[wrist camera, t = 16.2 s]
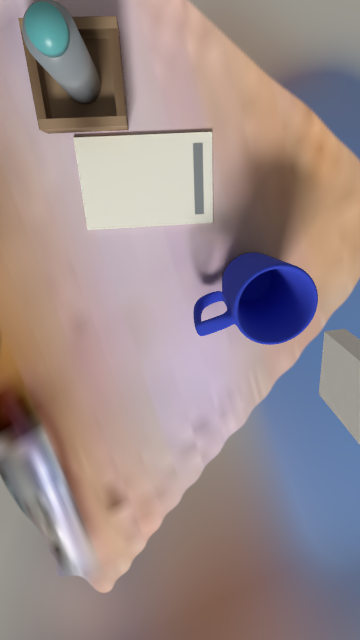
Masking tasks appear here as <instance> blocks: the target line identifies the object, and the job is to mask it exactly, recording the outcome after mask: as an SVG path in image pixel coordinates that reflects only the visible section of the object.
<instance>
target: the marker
mask: <svg viewBox="0 0 360 640" xmlns="http://www.w3.org/2000/svg"><path fill="white" fill-rule="evenodd" d="M22 33H23V38H24V41H25V44H26V46H27V48H28V50H29V52H30V53H31V54H32V56H33V57H34V58H35V59H36V60H37V61H38V62H39V63H40V64H41V65H42V66H43V68H44V69H45V70H46V71H47V72H48V73H49V74H50V75H51V76H52V77H53V78H54V79H55V81H56V82H57V83H58V84H59V85H60V86H61V87H62V88H63V89H64V90H65V91H66V92H67V94H68V95H69V96H70V97H71V98H72V99H73V100H75V101H76V102H78V103H80V104H90V103H92V102H94V101H95V100H96V99H97V98H98V96H99V94H100V92H101V79H100V76H99V73H98V71H97V69H96V67H95V65H94V63H93V61H92V59H91V56H90V54H89V52H88V50H87V48H86V46H85V44H84V42H83V39H82V37H81V35H80V33H79V31H78V29H77V27H76V24H75V22H74V20H73V18H72V17H71V15H70V14H69V12H68V11H67V10H66V9H65V8H64V7H63V6H62V5H60V4H59V3H57V2H55V1H52V0H38V1H36V2H34V3H33V4H31V5H30V6H29V7H28V9H27V10H26V12H25V14H24V17H23V22H22Z"/></svg>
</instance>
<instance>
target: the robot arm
mask: <svg viewBox="0 0 360 640" xmlns="http://www.w3.org/2000/svg"><path fill="white" fill-rule="evenodd" d="M319 395H320V396H321V397H322V398H323V400H324V401H325V402H326V403H327V404H328V406H329V407H330V408H331V409H332V411H333V412H334V413H335V414H336V416H337V417H338V418H339V419H340V421H341V422H342V423H343V424H344V426H345V427H346V428H347V429H348V431H349V432H350V433H351V434H352V435H353V437H354V438H355V439H356V440H357V441H358V443H359V444H360V340H359V339H358V338H356V337H355V336H353V335H352V334H351V333H350V332H348V331H347V330H345V329H341V330H334V331H326V332H325V333H324V345H323V355H322V366H321V377H320V388H319Z"/></svg>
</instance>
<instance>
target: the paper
mask: <svg viewBox="0 0 360 640" xmlns="http://www.w3.org/2000/svg"><path fill="white" fill-rule="evenodd" d="M73 139H74V145H75V152H76V158H77V165H78V171H79V178H80V184H81V191H82V197H83V204H84V210H85V217H86V223H87V230H98V229H115V228H132V227H149V226H166V225H182V224H199V223H213V189H212V132H194V133H170V134H146V135H123V136H99V137H76V138H73Z"/></svg>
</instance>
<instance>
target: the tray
mask: <svg viewBox="0 0 360 640" xmlns="http://www.w3.org/2000/svg"><path fill="white" fill-rule="evenodd" d="M72 18H73V20H74V22H75V24H76V27H77V29H78V31H79V33H80V35H81V37H82V39H83V42H84V44H85V46H86V48H87V50H88V52H89V54H90V56H91V59H92V61H93V63H94V65H95V67H96V69H97V71H98V73H99V76H100V79H101V92H100V94H99V96H98V98H97V99H96V100H95V101H94V102H92V103H90V104H80V103H78V102H76V101H75V100H73V99H72V98H71V97H70V96H69V95H68V94H67V92H66V91H65V90H64V89H63V88H62V87H61V86H60V85H59V84H58V83H57V82H56V81H55V79H54V78H53V77H52V76H51V75H50V74H49V73H48V72H47V71H46V70H45V69H44V68H43V66H42V65H41V64H40V63H39V62H38V61H37V60H36V59H35V58H34V57H33V56H32V54H31V53H30V52H29V50H28V48H27V46H26V44H25V41H24V38H23V33H22V22H23V18H18V19H19V24H20V29H21V35H22V40H23V45H24V51H25V56H26V61H27V67H28V72H29V77H30V83H31V88H32V93H33V99H34V104H35V109H36V115H37V120H38V125H39V129H40V130H42V131H44V132H46V133H68V132H92V131H116V130H128V121H127V111H126V100H125V90H124V79H123V69H122V58H121V48H120V37H119V28H118V23H117V18H116V16H96V17H72Z"/></svg>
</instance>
